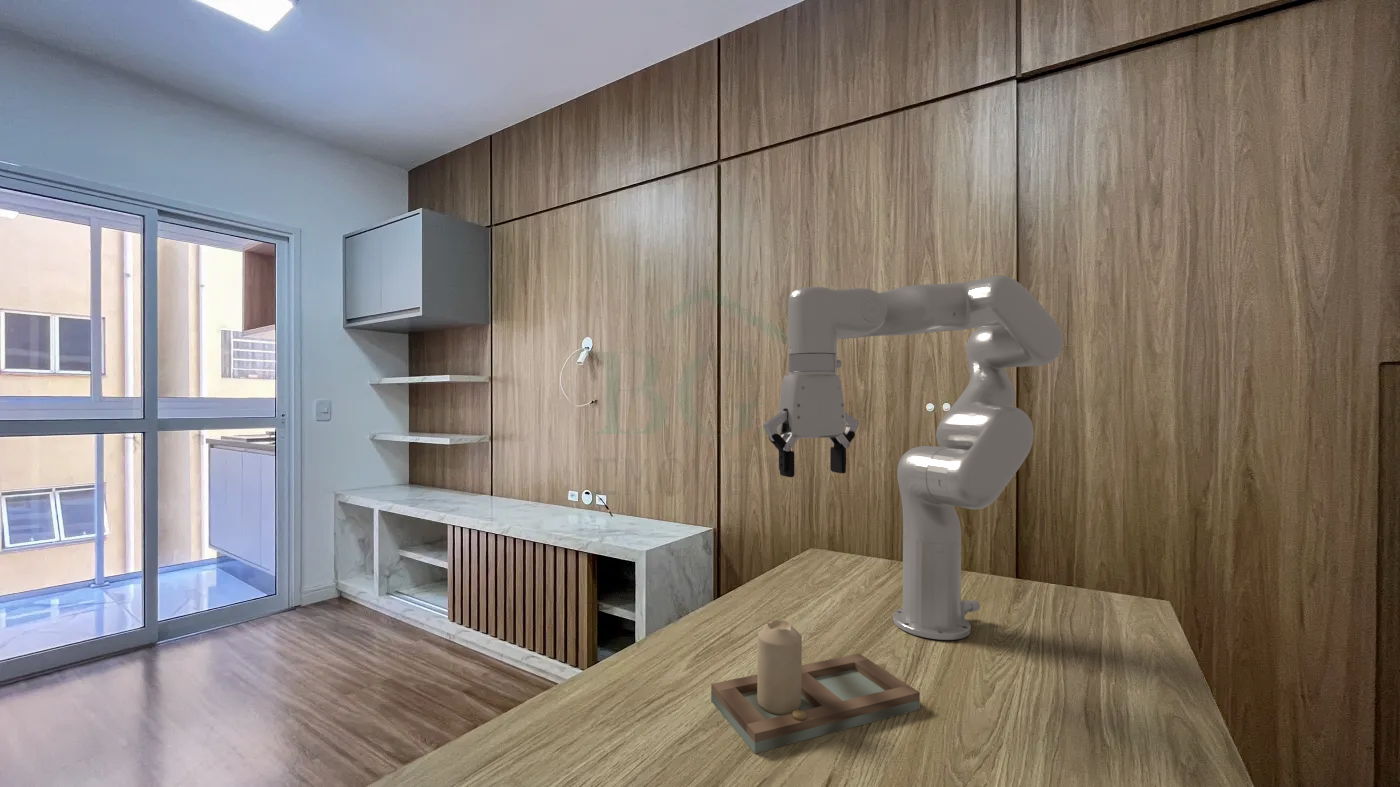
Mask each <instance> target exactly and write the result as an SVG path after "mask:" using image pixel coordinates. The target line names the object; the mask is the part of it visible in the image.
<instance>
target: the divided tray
mask: <svg viewBox="0 0 1400 787" xmlns="http://www.w3.org/2000/svg"><path fill="white" fill-rule="evenodd" d="M757 681H758V673H757V674H753V675H748V676H744V677H739V678H738V677H737V678H734V679H728V680H723V681H720V682H719V681H718V682H714V683H710V684H711V686H710V688H711V690H710V691H711V693H710V694H711V695H710V701H711V703H713V705H714V706H715V707H716V709H717V710H718V711H719V712H720V713H721V715H722V716H723V717H724V718H725V719H726V721H727V722H728V723H729V724H730V726H731V727H732V728H733V729H734V730H735V732H736V734H738V736H740V738H741V739H742V740H743V741H744V743H745V744H746V745H747V746H748V747H749V748H750V750H751V751H752V752H753V753H754V754H757V753H762V752H765V751H769V750H773V749H777V748H781V747H784V746H788V745H792V744H796V743H799V742H802V741H807V740H810V739H813V738H818V737H821V736H826V735H829V734H833V733H837V732H840V731H844V730H849V729H852V728H855V727H859V726H863V725H866V724H871V723H873V722H878V721H882V720H885V719H890V718H893V717H896V716H901V715H904V714H908V713H912V712H916V711H919V710H920V709H921V708H920V706H921V704H920V702H921V700H920V699H921V694H920V693H921V692H920V691H918V689H916V688H914V687H912V686H911V685H909V684H907V683H906V682H904V681H903V680H901V679H900V678H898V677H897V676H896V675H893V674H892V673H890V672H889V671H887V670H886V669H884V668H883V667H881V666H880V665H878V664H876V663H875V662H874V661H872V660H870V659H869V658H868V657H865V656H864V655H863V654H861V653H855V654H850V655H846V656H845V655H844V656H840V657H835V658H830V659H826V660H825V659H824V660H821V661H816V662H811V663H806V664H802V668H801V706H800V708H799V710H794V711H793V713H791V714H784V715H781V714H774V713H770V712H767V711H765V710H764V709H762V708H761V707H760V706H759V704H758V699H757Z"/></svg>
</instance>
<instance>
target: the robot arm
mask: <svg viewBox="0 0 1400 787" xmlns="http://www.w3.org/2000/svg"><path fill="white" fill-rule="evenodd" d="M787 299H788V302H787V307H788V308H787V310H788V311H787V314H788V315H787V317H788V318H787V321H788V322H787V323H788V324H787V326H788V328H787V330H788V331H787V332H788V341H787V342H788V352H787V353H788V375H783V378H782V383H781V387H780V388H781V389H780V392H779V393H780V395H779V402H778V403H779V406H778V414H775V415H774V416H773V417H772V418H769V419H768V420H766V421H765V422H764V423H763V428H764V430H765V433H766V435H767V436H768V440H769V442H771V443H772V445H773V446H774V447H775V450H778V471H779V474H780V476H783V477H786V478H793V477H795V451H794V450H793V451H792V448H794V446H795V444H796V442H797V441H798V440H799V439H822V438H823V439H825V438H828V440H829V441H830V442H831V444H832V445H833V446H831V447H830V448H829V449H830V451H829V452H830V453H829V454H830V456H829V458H830V472H832V473H838V474H846V473H847V472H846V471H847V449H849V448H850V445H851V444H850V443H851V442H852V441H853V439H854V438H855V436H856V432H857V429H858V427H859V425H860V422H859V420H858V419H856V417H853V416H852V415H850V414H849V413H847V412H845V400H844V391H843V386H842V381H841V376H840V374H838V373H837V372H838V370H837V369H840V368H841V367H842V361H841V360H840V359H838V358H837V357H838V356H837V351H838V349H837V340H845V339H858V338H866V337H868V338H869V337H880V336H882V337H883V336H909V335H919V334H930V333H940V332H941V333H942V332H953V331H965V330H972V329H975V330H974V331H972V333H971V334H970V335H969V338H968V339H967V343H966V348H965V350H966V357H967V362H968V368H969V382H968V384H967V386H966V387H965V389H964V390H963V391H962V393H961V394H960V396H959V397H958V398H957V400H956V401H954V403H953V405H952V406H951V408H949V409H948V411H947V412H946V413H945V415H944V416H943V418H942V419H941V421H940V422H939V424H938V426H937V428H936V432H935V434H936V435H935V436H936V441H937V443H938V445H939V446H934V445H921V446H916V447H913V448H910V449H909V450H907V451H906V452H904V454H903V455H902V456H901V457H900V458H899V461H898V464H897V468H896V469H897V470H896V471H897V472H896V476H897V483H898V484H897V485H898V487H899V488H898V489H899V493H900V498H901V507H902V607H900V608H899V609H897V610H896V611H894V613H893V618H892V619H893V624H894V625H895V626H896V627H897V628H898V629H900V630H902V631H904V632H906V633H909V634H911V635H914V636H916V637H920V638H921V637H922V638H926V639H931V640H937V641H938V640H939V641H954V640H955V641H956V640H960V639H964V638H966V637H968V636H969V635H970V634H971V628H972V627H971V623H970V622H969V621H968V620H967V619H966V618H965V615H967V614H968V613H973V612H976V611H979V610H980V607H981V605H980V603H979V601H978V600H976V599H969V600H963V599H962V526H961V525H962V524H961V522H960V518H959V514H958V513H957V512H958V511H957V510H956V508H955V507H958V508H963V509H969V510H981V509H982V510H983V509H985V508H987V507H989V506H991V505H992V504H993V503H994V502H995V501H996V500H997V499H998V498H999V497H1000V495H1002V493H1003V492H1004V490H1005V488H1006V487H1007V486H1008V485H1009V483H1010V482H1011V480H1012V479H1013V477H1014V476H1015V475H1016V473H1017V472H1018V470H1019V469H1020V468H1021V466H1022V465H1023V463H1024V462H1025V460H1026V459H1027V457H1028V455H1029V454H1030V451H1031V449H1032V447H1033V442H1034V432H1035V431H1034V425H1033V422H1032V420H1031V418H1030V416H1029V415H1028V414H1027V413H1026V412H1025V411H1023V410H1022V409H1020V408H1018V407H1017V406H1014V405H1015V402H1016V392H1015V389H1014V387H1013V384H1012V382H1011V380H1010V378H1009V375H1008V372H1007V368H1023V367H1039V366H1044V365H1048V364H1051V363H1052V362H1054V361H1056V360H1057V358H1059V356H1060V355H1061V353H1062V350H1063V347H1064V338H1063V332H1062V330H1061V327H1060V326H1059V325H1058V323H1057V321H1055V319H1054V318H1053V317H1052V316H1051V314H1049V312H1048V311H1047V310H1046V309H1045V308H1044V307H1043V306H1042V305H1041V303H1040V302H1039V301H1038V300H1037V299H1036V297H1035V296H1034V295H1033V294H1032V293H1031V292H1030V291H1029V290H1028V289H1027V288H1026V287H1025V286H1024V285H1022V284H1021V283H1020V282H1019V281H1017V280H1016V279H1014V278H1012V277H1010V276H1007V275H994V276H990V277H985V278H980V279H977V280H973V281H967V282H955V283H954V282H952V283H951V282H949V283H936V284H935V283H934V284H932V283H931V284H930V283H929V284H928V283H927V284H915V285H913V284H912V285H907V286H903V287H897V288H894V289H890V290H886V291H882V292H877V291H876V290H873V289H871V288H865V287H858V288H854V287H853V288H847V289H846V288H844V289H831V288H828V287H824V286H822V287H821V286H809V287H808V286H807V287H799V288H797V289H794V290H792V292H790V294H789V295H788V298H787Z"/></svg>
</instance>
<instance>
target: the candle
mask: <svg viewBox="0 0 1400 787" xmlns="http://www.w3.org/2000/svg"><path fill="white" fill-rule="evenodd" d="M802 638H803V637H802V634H800V632H799V631H798V630H797V629H796V628H795V627H793V625H792V624H790V623H789V622H788V621H787V620H783V619H782V620H779V619H778V620H776V619H775V620H773V621H771V622H768V623H765V625H764V626H763V627H762V629H760V631H758V633H757V674H758V681H757V699H758V704H759V706H760V707H761V708H762V709H764V710H765V711H767V712H770V713H774V714H781V715H784V714H791V713H793V711H794V710H799V708H800V706H801V668H802V665H803V664H802V662H803V661H802V660H803V659H802V657H803V656H802V651H803V649H802V648H803V647H802V646H803V645H802V644H803V642H802V641H803V640H802Z"/></svg>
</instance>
